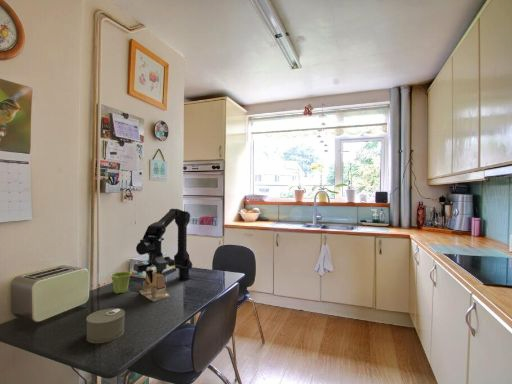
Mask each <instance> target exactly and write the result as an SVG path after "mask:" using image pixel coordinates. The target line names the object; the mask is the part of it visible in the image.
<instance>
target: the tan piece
mask: <svg viewBox="0 0 512 384" xmlns="http://www.w3.org/2000/svg"><path fill="white" fill-rule="evenodd" d="M139 294H141V295H142V296H144V297H145V298H147V299H149V300H151V301H152V302H157V301H160V300H163V299H168V298H170V294H169V293H167V285H166V284H165V283H164V287H162V288H156V287H155V286H152V285H151V284H149V283H147V282H146V280H144V281H142V289H141V290H139Z"/></svg>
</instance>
